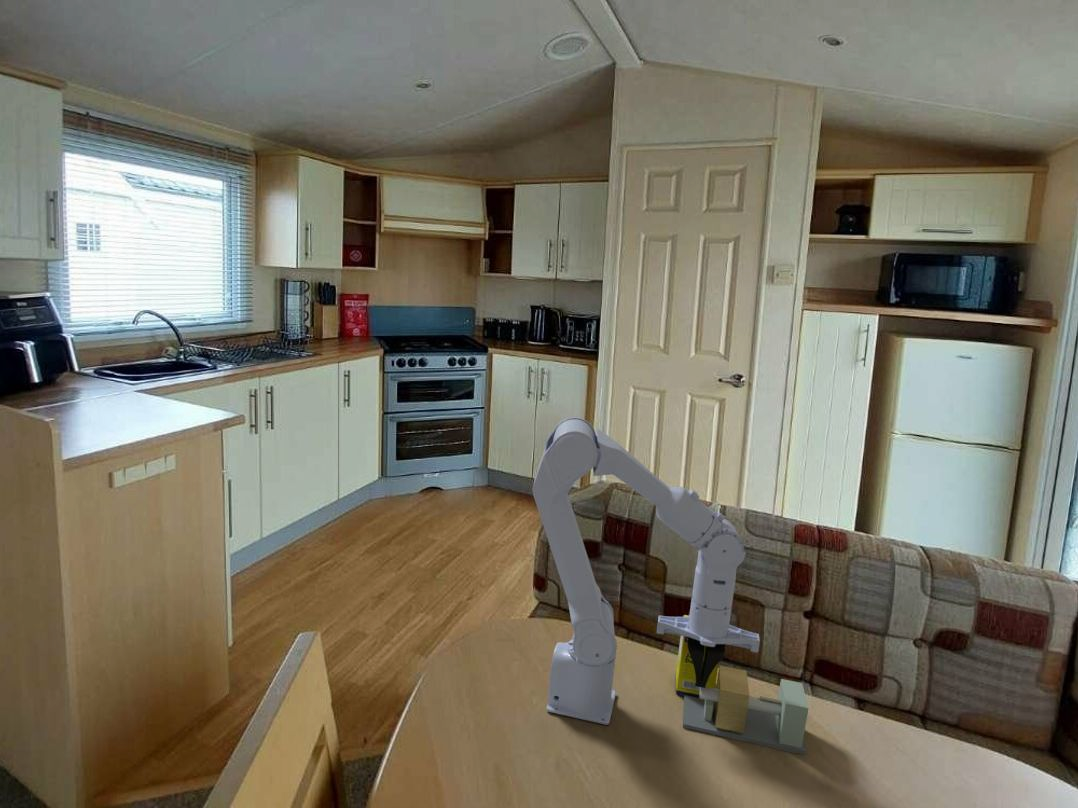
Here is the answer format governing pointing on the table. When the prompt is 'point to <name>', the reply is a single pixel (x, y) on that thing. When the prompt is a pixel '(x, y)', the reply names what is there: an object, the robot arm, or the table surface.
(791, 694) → the shaft rig
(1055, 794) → the table surface
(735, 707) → the block
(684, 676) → the supplement box
